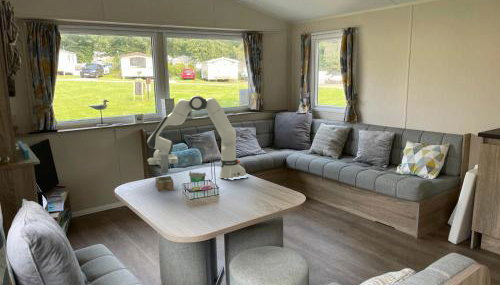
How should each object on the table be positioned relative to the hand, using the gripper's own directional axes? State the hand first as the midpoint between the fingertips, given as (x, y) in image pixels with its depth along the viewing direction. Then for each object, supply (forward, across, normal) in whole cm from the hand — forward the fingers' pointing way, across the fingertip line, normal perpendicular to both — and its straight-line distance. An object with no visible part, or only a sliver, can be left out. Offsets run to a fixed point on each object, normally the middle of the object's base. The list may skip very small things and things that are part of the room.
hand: (164, 163), depth 252 cm
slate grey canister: (-1, 0, +7) cm, 7 cm away
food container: (+5, +20, +17) cm, 27 cm away
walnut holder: (0, -1, +17) cm, 17 cm away
